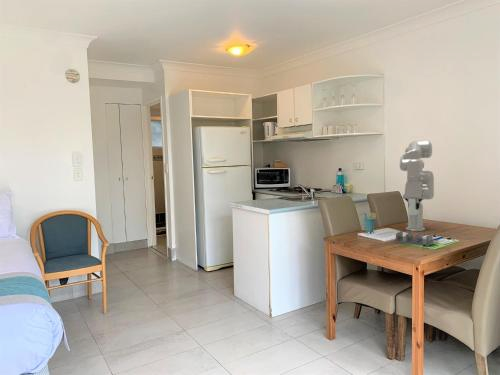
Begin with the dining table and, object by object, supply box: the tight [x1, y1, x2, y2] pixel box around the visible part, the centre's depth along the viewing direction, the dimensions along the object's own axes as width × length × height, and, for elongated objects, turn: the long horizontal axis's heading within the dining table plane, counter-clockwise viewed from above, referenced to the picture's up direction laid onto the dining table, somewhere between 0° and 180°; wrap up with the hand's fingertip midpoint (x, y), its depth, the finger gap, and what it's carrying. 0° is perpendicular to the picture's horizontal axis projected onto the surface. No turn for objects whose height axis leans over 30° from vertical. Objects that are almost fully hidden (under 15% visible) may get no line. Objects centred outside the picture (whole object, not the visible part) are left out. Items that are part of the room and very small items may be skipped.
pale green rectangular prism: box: [409, 198, 418, 215], centre depth 241 cm, size 8×4×10 cm, turn 142°
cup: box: [360, 212, 377, 233], centre depth 275 cm, size 14×8×15 cm, turn 121°
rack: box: [394, 230, 435, 247], centre depth 243 cm, size 13×20×6 cm, turn 52°
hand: (413, 208), depth 241 cm, fingers closed on pale green rectangular prism, 3 cm apart
